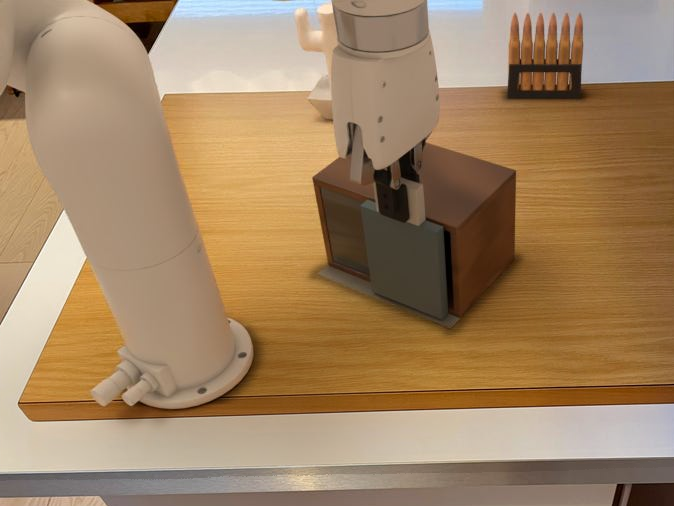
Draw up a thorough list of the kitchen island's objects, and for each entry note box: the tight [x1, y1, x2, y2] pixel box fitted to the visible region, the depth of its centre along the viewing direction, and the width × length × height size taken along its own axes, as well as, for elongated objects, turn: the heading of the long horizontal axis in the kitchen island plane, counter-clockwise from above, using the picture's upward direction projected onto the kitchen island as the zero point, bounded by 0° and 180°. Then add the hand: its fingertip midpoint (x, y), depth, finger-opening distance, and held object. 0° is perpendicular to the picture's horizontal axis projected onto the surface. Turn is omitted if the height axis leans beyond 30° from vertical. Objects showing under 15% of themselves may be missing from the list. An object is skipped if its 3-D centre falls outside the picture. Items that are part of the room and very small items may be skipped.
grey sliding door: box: [360, 178, 448, 320], centre depth 82 cm, size 1×9×15 cm, turn 59°
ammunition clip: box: [506, 12, 584, 100], centre depth 116 cm, size 11×2×12 cm, turn 88°
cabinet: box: [311, 142, 517, 330], centre depth 88 cm, size 14×18×12 cm
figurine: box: [294, 1, 338, 120], centre depth 112 cm, size 7×9×15 cm
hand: (400, 211), depth 79 cm, fingers closed
